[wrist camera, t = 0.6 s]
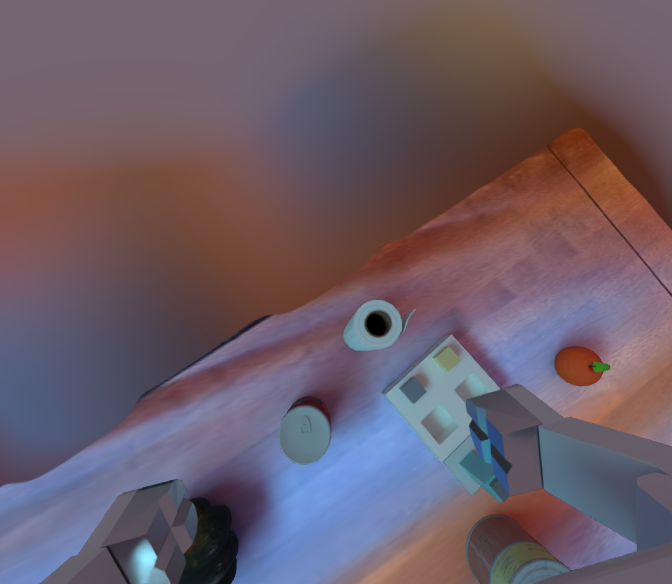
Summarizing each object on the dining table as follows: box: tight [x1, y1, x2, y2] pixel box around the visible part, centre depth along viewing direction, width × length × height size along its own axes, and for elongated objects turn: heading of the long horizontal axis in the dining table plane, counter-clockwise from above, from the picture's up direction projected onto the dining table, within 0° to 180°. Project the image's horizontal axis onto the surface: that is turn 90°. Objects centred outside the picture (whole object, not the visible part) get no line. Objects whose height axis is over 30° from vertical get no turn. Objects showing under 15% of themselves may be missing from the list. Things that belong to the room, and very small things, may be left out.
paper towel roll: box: [343, 300, 416, 351], centre depth 48 cm, size 7×6×21 cm
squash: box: [179, 498, 238, 584], centre depth 45 cm, size 14×15×15 cm
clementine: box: [555, 346, 610, 386], centre depth 56 cm, size 8×7×7 cm
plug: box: [459, 451, 509, 503], centre depth 49 cm, size 3×3×10 cm
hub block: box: [382, 334, 500, 462], centre depth 54 cm, size 14×16×6 cm
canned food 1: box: [278, 397, 331, 465], centre depth 50 cm, size 8×8×11 cm
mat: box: [443, 434, 481, 496], centre depth 55 cm, size 7×7×1 cm
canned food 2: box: [466, 515, 572, 584], centre depth 47 cm, size 11×11×12 cm
